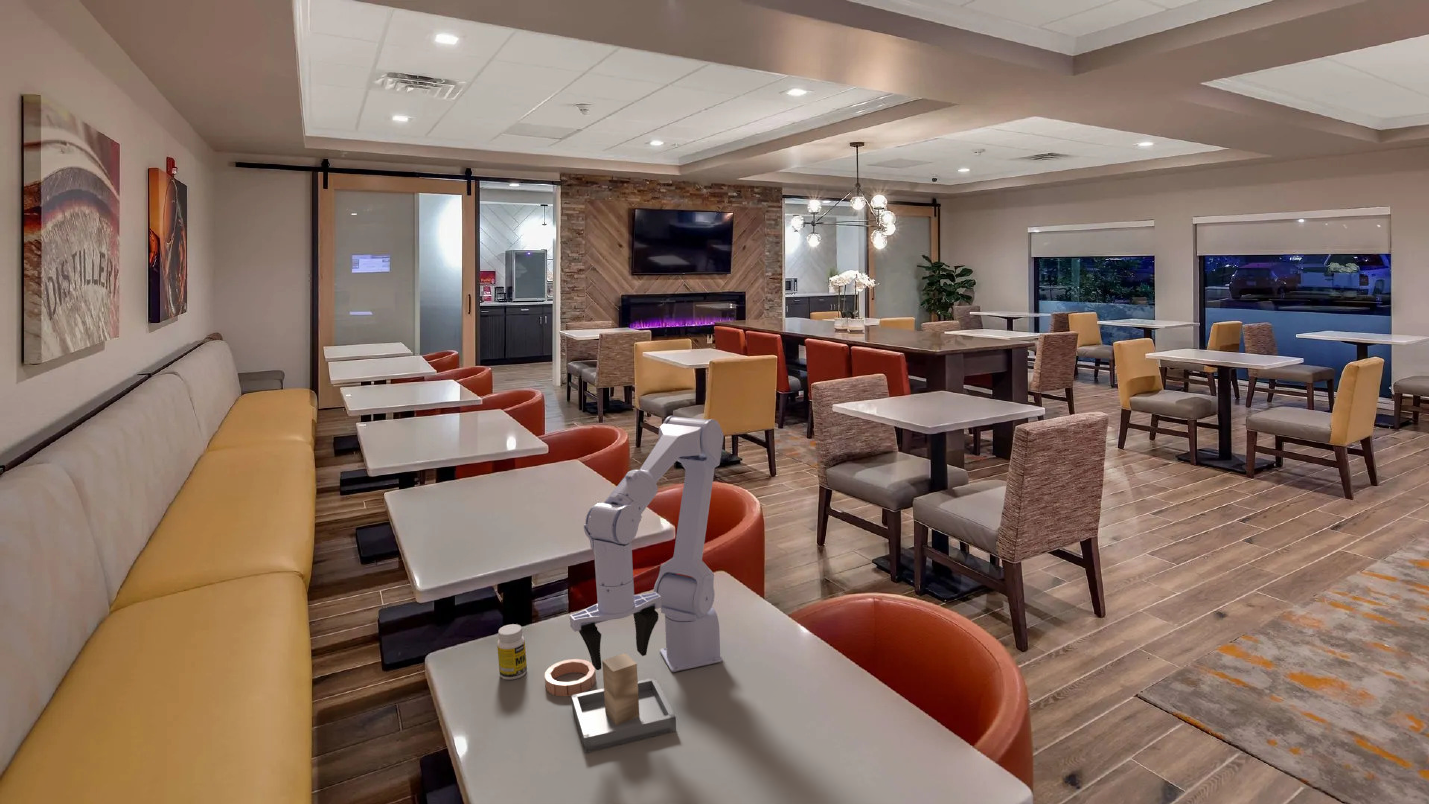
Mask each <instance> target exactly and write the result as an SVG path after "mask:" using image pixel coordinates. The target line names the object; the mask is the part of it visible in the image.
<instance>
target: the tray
mask: <svg viewBox="0 0 1429 804" xmlns="http://www.w3.org/2000/svg"><path fill="white" fill-rule="evenodd" d="M570 697H571V709H572V712H573V716H574V718H575V722H576V726H577V728H578V729H577V730H578V733H579V736H580V740H581V742H582V746H583V749H584V753H590V752H594V751H598V750H599V751H600V750H603V749H607V748H610V747H611V748H612V747H614V746H615V747H616V746H619V745H623V744H626V743H627V744H628V743H632V742H635V741H639V740H643V739H647V738H652V737H656V736H660V735H664V734H669V733H673V732H676V731H677V719H676V715H675V713H674V710H673V709H672V707H671V705H670V703H669V701H668V699H667V696H666V695H665V693H664V692H663V690H662V688H661V685H660V684H659V682H658V680H657V679H656V677H651V678H650V677H649V678H645V679H640V680H638V697H639V717H636V718H634V719H631V720H629V721H626V722H623V723H621V724H618V725H616V724H615V723H614V722H613V721H612V720H611V719H610V717H609V716H608V715H607V714H606V713H605V697H604V687H603V688H599V689H598V688H597V689H595V690H591V691H590V690H588V691H585V692H584V693H580V694H575V695H571V696H570Z"/></svg>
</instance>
